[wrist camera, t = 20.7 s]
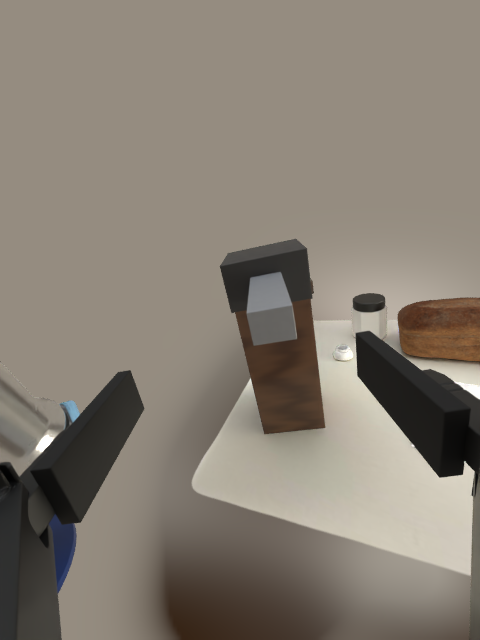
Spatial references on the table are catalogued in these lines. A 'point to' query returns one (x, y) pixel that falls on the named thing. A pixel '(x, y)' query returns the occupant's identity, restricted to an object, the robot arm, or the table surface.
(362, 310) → the jar
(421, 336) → the bread
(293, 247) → the sledgehammer head
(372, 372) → the robot arm
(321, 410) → the stand
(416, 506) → the table surface
